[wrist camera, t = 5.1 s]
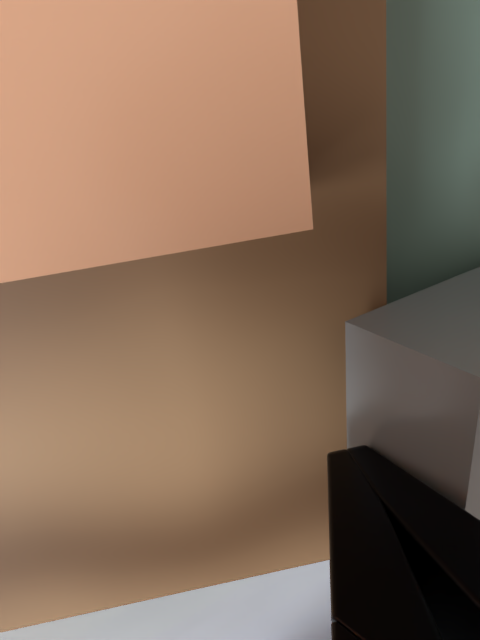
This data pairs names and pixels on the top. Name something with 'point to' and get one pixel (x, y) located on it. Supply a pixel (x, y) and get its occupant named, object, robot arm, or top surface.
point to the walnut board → (197, 377)
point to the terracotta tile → (147, 129)
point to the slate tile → (421, 386)
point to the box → (432, 142)
